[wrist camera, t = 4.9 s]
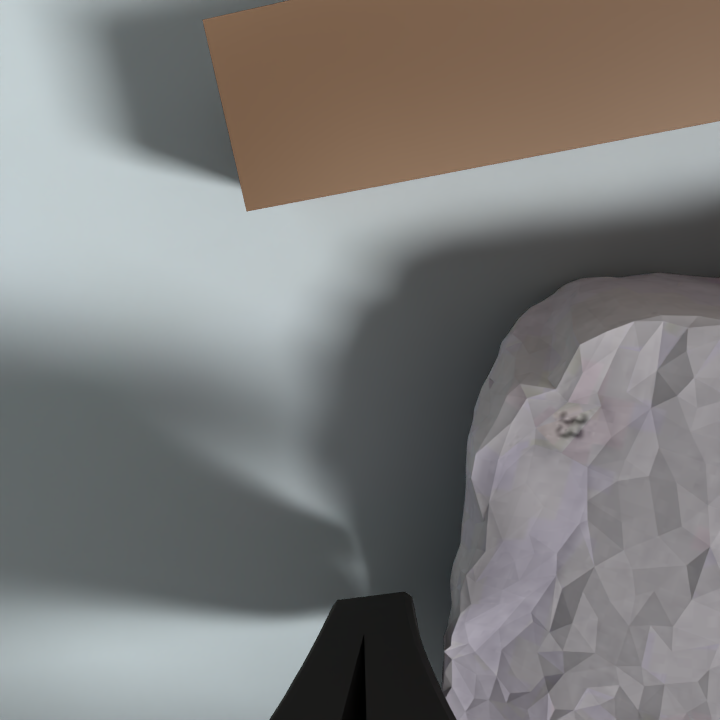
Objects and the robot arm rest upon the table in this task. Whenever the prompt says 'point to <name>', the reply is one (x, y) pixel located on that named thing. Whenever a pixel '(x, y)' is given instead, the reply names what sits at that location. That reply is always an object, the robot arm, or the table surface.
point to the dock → (450, 85)
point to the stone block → (594, 511)
